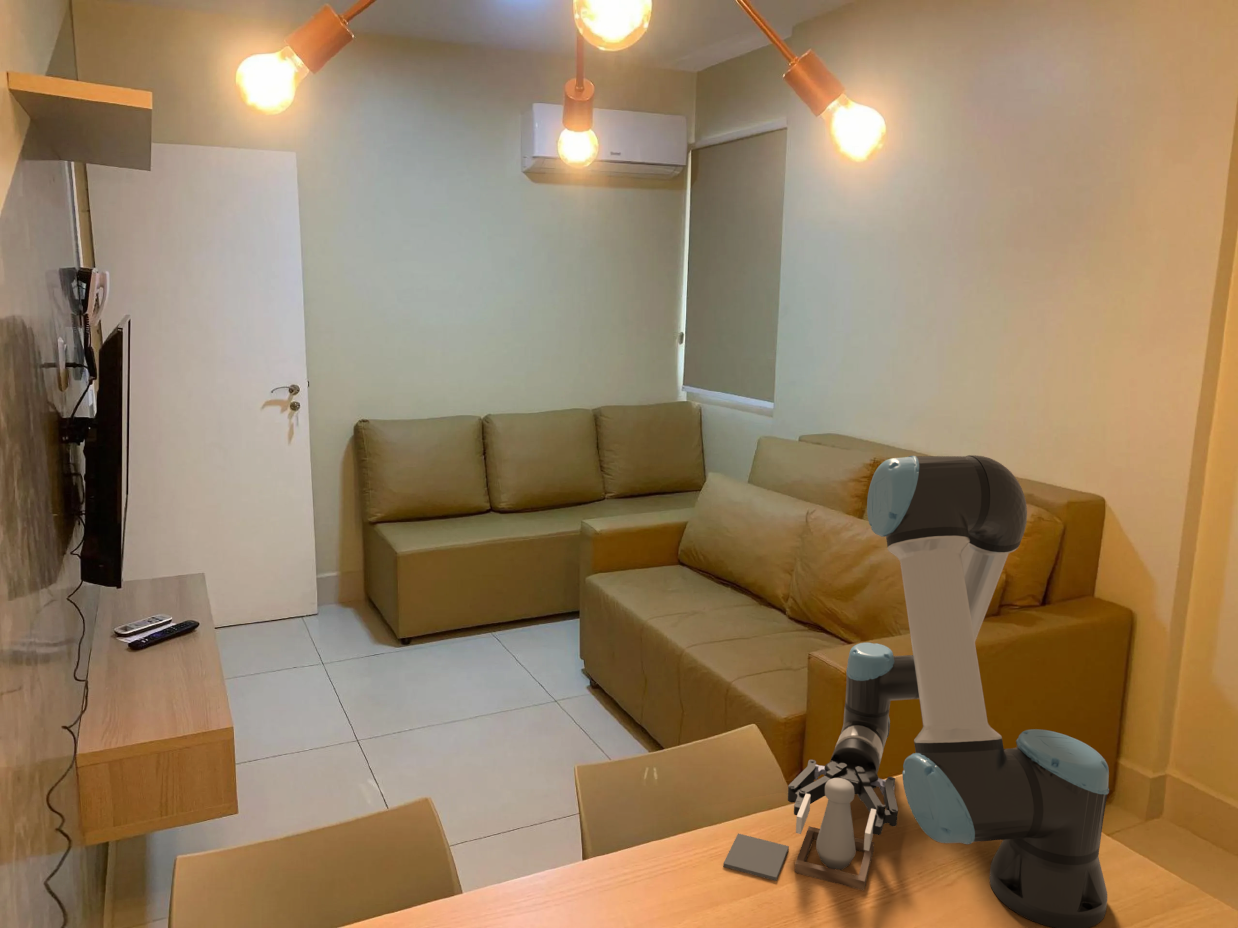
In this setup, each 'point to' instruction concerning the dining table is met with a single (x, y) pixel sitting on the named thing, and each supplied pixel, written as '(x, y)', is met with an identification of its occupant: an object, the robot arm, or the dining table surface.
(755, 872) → the charcoal coaster
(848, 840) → the salt shaker
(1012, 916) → the dining table surface
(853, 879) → the walnut collar
